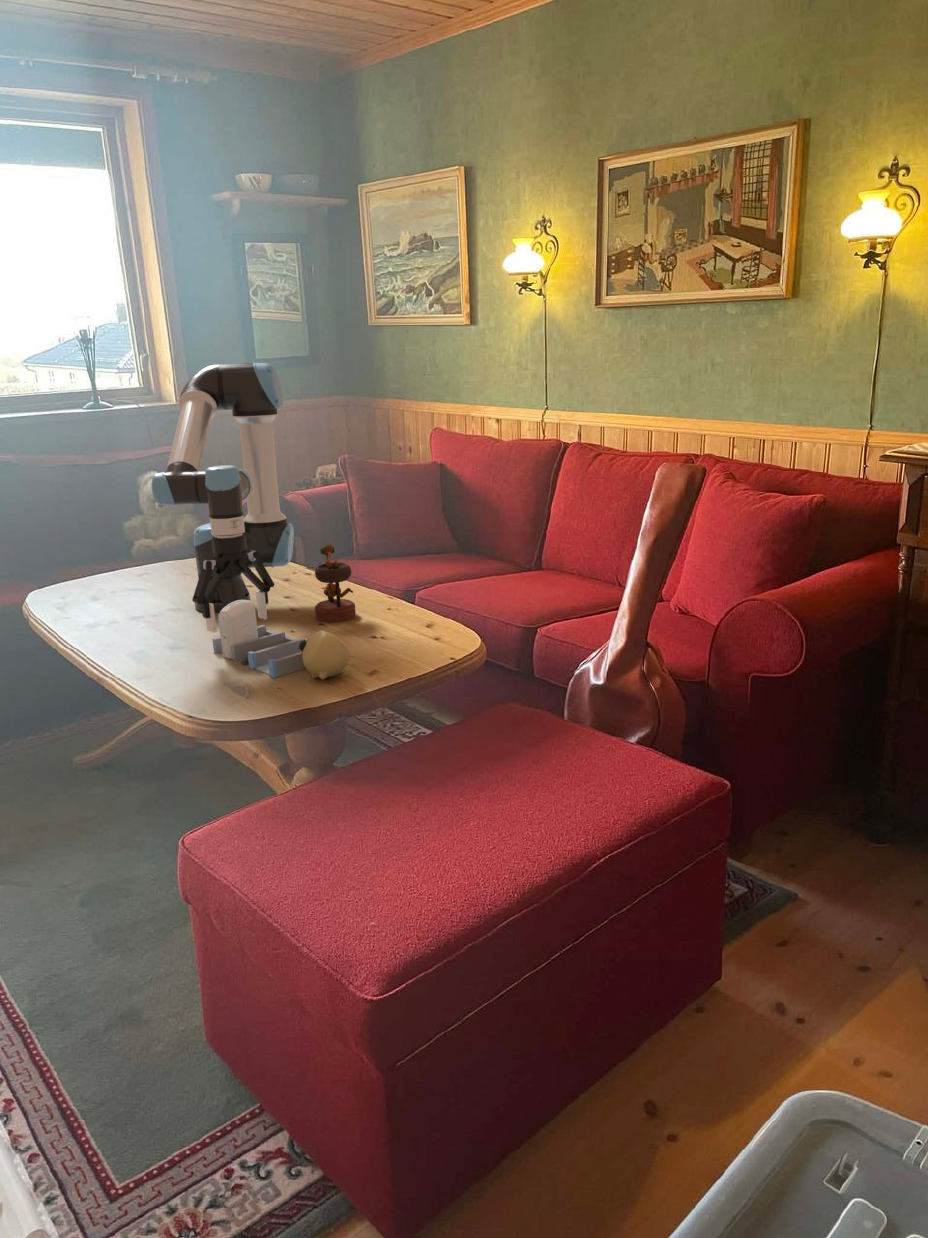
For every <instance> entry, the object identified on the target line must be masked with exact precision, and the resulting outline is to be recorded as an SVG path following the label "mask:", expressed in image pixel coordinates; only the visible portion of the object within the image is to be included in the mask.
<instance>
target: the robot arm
mask: <svg viewBox="0 0 928 1238" xmlns="http://www.w3.org/2000/svg"><path fill="white" fill-rule="evenodd" d="M283 403H284V399H283V392H282V387H281V382H280V379H279V376H278V373H277V370H276V369H275V367H274V365H272V364H270V363H266V362H255V361H254V362H249V363H248V362H246V363H227V364H224V363H223V364H221V363H219V364H218V363H216V364H211V365H208V366H205V367H204V368H202V369H200V370H199V371H198V372H196V373H195V374H193V376H191V378H190V379H189V380H188V381H187V382H186V383H185V384H184V387H183V388H182V390H181V393H180V396H179V398H178V407H179V410H180V413H179V418H178V421H177V425H176V430H175V433H174V438H173V442H172V446H171V449H170V453H169V457H168V462H167V466H166V470H165V472H164V471H161V472H157V473H155V474H153V476H152V479H151V492H152V495H153V499H154V501H155V502H156V503H157V504H158V505H161V506H162V505H164V506H166V505H167V506H169V505H170V506H178V505H179V506H180V505H181V506H182V505H198V504H199V505H200V504H203V505H204V504H208V514H209V523H205V524H202V525H200V526H198V527H196V528H195V529H194V531H193V548H194V555H195V562H196V569H197V570H196V571H197V579H198V580H197V584H196V586H195V590H194V593H193V596H192V599H191V600H192V602H193V603H194V608H195V610H197V611H199V612H202V617H203V618H204V619H205V620H206V622H205V623H206V627H207V628H206V629H207V631H209V632H211V633H217V631H218V630H217V625H216V624H217V623H216V616H215V615H216V614H215V613H220V611H221V610H222V609H223V608H224V607H225V606H227V605H228V604H230V603H232V602H234V601H237V600H249V601H251V602H252V600H251V594H250V592H249V590H248V587H247V585H246V583H245V580H244V579H243V576H245V577H246V579H248V580H249V582H251V584H252V585H254V586H255V587H256V589H258V590H256V591H255V597H256V608H257V617H258V619H261V620H267V619H268V614H267V612H268V611H267V605H268V604H269V594H268V593H269V592H270V591H271V589H272V588H274V587H275V582H274V581H273V579H272V578H271V575H270V574H269V572H268V571H267V569H266V568H272V569H273V568H276V567H277V568H279V567H284V566H287V565H289V563H290V562H291V560H292V556H293V551H294V539H295V538H294V537H295V532H294V525H293V524H292V523H290V522H287V521H288V520H287V516H286V515H285V514H284V513H283V512H282V511H281V507H280V495H279V485H278V472H277V461H276V448H275V439H274V426H273V422H274V420H275V419H276V418H277V417H278V409H281V408H282V407H283ZM228 410H229V411H230V410H231V412H232V418H233V419H234V420H235V421H237V423H238V424H239V425H238V426H239V431H240V432H239V433H240V444H241V453H242V464H243V469H241V468H238V467H237V466H235V465H230V464H229V465H225V464H224V465H223V464H222V465H214V466H209V467H207V468H206V469H205V471H201V467H202V466H201V465H202V463H203V461H202V460H203V457H204V454H205V453H204V452H205V447H206V444H207V443H206V442H207V440H208V435H209V430H210V425H211V420H212V419H214V417H215V416H216V414H217V412H218V411H228ZM244 500H246V505H247V506H246V507H247V514H246V515H245V517H244V507H243V506H244V505H243V501H244ZM251 568H252V569H253V568H254V569H255V571H256V572H257V574H255V573H254V572H253V570H252V569H251ZM242 574H243V576H242ZM257 575H258V576H257ZM259 577H260V578H259Z"/></svg>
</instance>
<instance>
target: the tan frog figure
mask: <svg viewBox="0 0 928 1238" xmlns="http://www.w3.org/2000/svg"><path fill="white" fill-rule="evenodd" d="M299 648H300V653H301V655H302V656H303V663H304V665H305V667H306V668H305V669H306V670H307V671H308V672H309V673H310V675H311V676H310V677H311V678H312V679H315V680H316V679H317V678H318V677H319V679H320V680H325V679H326V678H330V677H335V676H336V675H339V674H340V673H341V674H347V673H348V672H349V668H348V665H349V662H350V659H351V658H350V657H351V653H350V652H351V651H350V649H349V647H348V645H346V644H345V642H344V641H342V640H341V639H340V638H339V637H337V636H336V635H335V634H333V633H331V632H328V631H326V630H318V631H317V632H315V633H313V635H310V636H306V638H305V640H303V641H302V642H300V644H299Z"/></svg>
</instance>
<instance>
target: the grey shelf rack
mask: <svg viewBox="0 0 928 1238" xmlns="http://www.w3.org/2000/svg"><path fill="white" fill-rule="evenodd" d="M257 631H258V638H256V639H252V640H249V641H245V642H242V643H238V644H235V645H231V651H232V659H231V660H232V661H234V662H237V661H240V662H241V663H242V664H243V665H247V664H248V668H249V670H252V671H253V670H257V671H259V672H261V673H264V674H267V675H269V677H271V678H272V679H276V678H279V677H281V676H283V675H287V674H290V673H293V672H296V671H299V670H303V669H307V668H306V667H305V665H304V663H303V656H302V655H301V653H300V648H299V644H300V642H302V641H303V640H306V638H305V637H301V638H294V637H291V636H289V635H286V631H283V630H281V631H278V632H276V631H274V630H271V629H267V625H265V624H260V625H257ZM212 646H213V647H212V648H213V653H214V654H222V653H223V652H222V644H221V635H219V636H217V637H216V636H215V637H214V638H212Z"/></svg>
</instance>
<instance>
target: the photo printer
mask: <svg viewBox="0 0 928 1238" xmlns="http://www.w3.org/2000/svg"><path fill="white" fill-rule="evenodd" d="M256 613H257V612H256V607H255V605H254V603H253V601H252V600H251V601H249V600H237V601H234V602H232V603H230V604H228V605H227V606H225V607H224V608H223V609H222V610H221V611H220V612H218V615H217V616H218V617H217V619H218V625H219V634H220V635H219V636H221V644H222V652H221V653H222V656H223V657H224V658H225V659H230V660H232V651H231V645H235V644H238V643H242V642H245V641H249V640H252V639H256V638H258V631H257V626H258V623H257V615H256Z"/></svg>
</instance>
